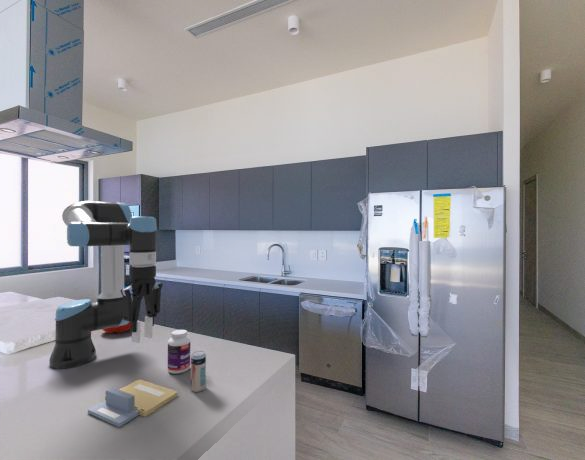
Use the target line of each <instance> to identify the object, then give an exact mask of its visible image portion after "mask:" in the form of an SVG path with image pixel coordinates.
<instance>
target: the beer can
mask: <svg viewBox="0 0 585 460" xmlns="http://www.w3.org/2000/svg"><path fill="white" fill-rule="evenodd" d="M206 369H207V355H206V353H205V351H204V350H197V351H193V353H192V354H191V355H190V391H192V392H195V393H196V392H197V393H198V392H202V391H203V390H205V388H206V386H207V385H206V382H207V381H206V380H207V379H206V377H207V375H206V374H207V373H206V371H207V370H206Z"/></svg>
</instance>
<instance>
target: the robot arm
mask: <svg viewBox="0 0 585 460" xmlns="http://www.w3.org/2000/svg"><path fill="white" fill-rule="evenodd" d="M61 217H62V220H63V223H64V225H65V226H66V241H67V242H66V243H67V245H68V246H70V247H80V248H85V247H100V248H101V249H100V251H101V252H100V253H101V254H100V255H101V256H100V260H101V261H100V262H101V263H100V265H101V269H100V272H101V273H100V276H101V277H100V280H101V281H100V283H101V285H100V289H101V290H100V293H99V294H98V295H97V297H96V301H94V302H93V301H92V299H89V298H84V299H77V300H76V299H75V300H72V301H69V302H65V303H64V304H61V305H59V306H58V307H57V308H56V310H55V318H54V321H55V336H54V338H55V339H54V340H55V341H54V347H53V349H52V352H51V355H50V357H49V360H48V361H49V367H51V368H53V369H69V368H73V367H74V368H75V367H77V366H82V365H84V364H85V365H86V364H87V363H89V362H91V361H93V360H94V359H95V358H96V357H97V350H96V347H95V345H94V342H93V339H92V332H94V331H100V330H102V329H106V328H112V327H118V326H122V325H126V324H127V323H129V321H130V329H129V331H130V332H131V342H133V343H136V344H138V343H141V321H140V320H139V315H140V309H141V304H142V300H143V299H144V305H145V310H146V315H145V316H144V338H148V339H152V338H153V327H154V325H155V318H156V317H157V315H158V314H159V313H161V295H162V287H163V283H162V282H157V280H156V279H155V278H156V277H157V266H156V263H157V230H158V227H157V219H156V217H154V216H144V215H143V216H141V215H138V216H133V215H132V211H131V208H130V206H129V205H128V204H127V203H125V202H116V201H98V200H97V201H96V200H95V201H94V200H82V201H78V202H74V203H72V204H70V205H68V206H67V207H66V208H64V210H63V212H62V215H61ZM125 246H129V257H128V258H129V260H128V261H129V262H128V264H129V265H130V267H129V269H128V271H129V272H128V273H129V275H128V276H129V279H130V282H129V284H128V286H127V287H125Z"/></svg>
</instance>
